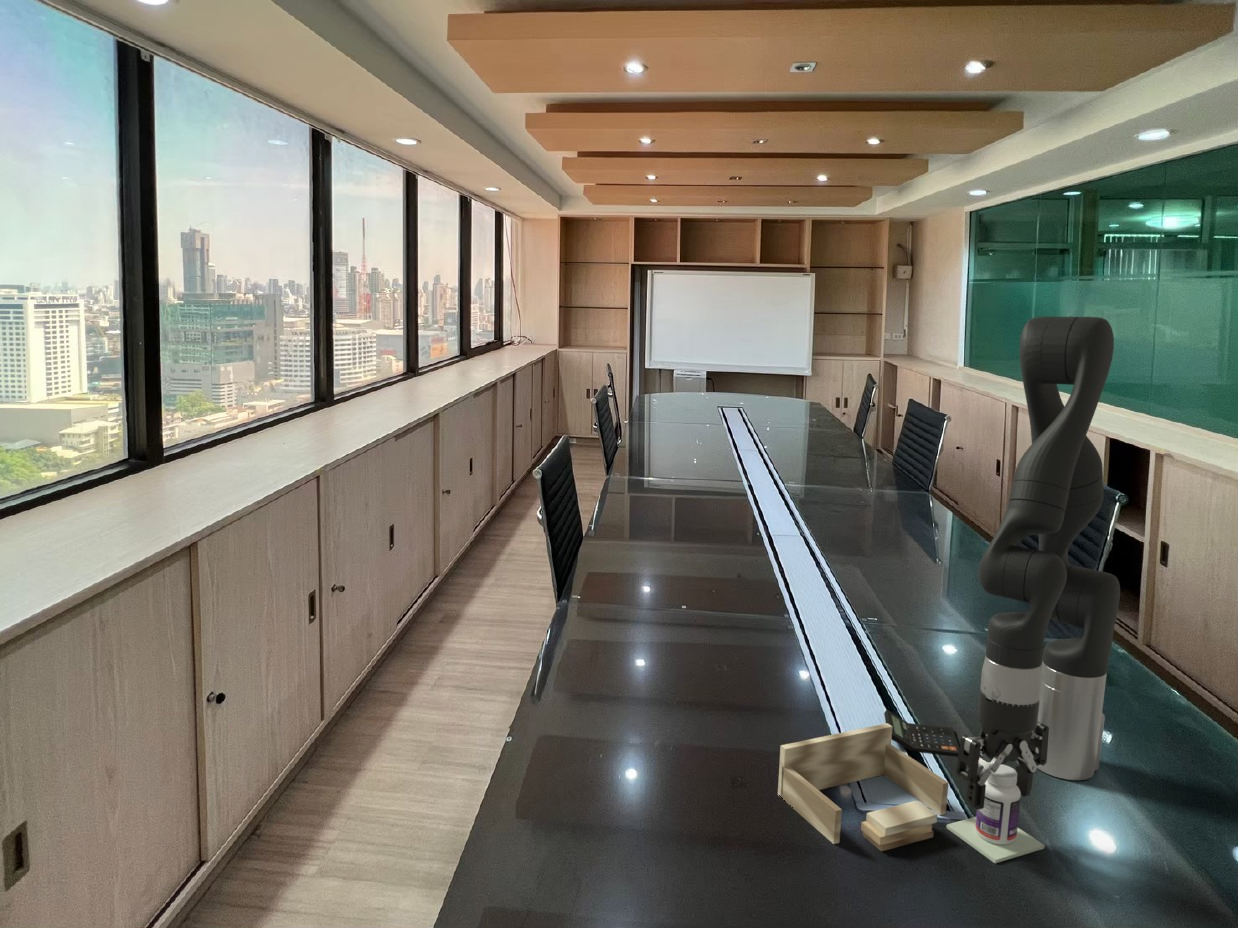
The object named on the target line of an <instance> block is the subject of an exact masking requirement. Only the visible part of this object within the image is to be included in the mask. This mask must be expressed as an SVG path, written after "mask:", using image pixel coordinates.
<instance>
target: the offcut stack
mask: <svg viewBox="0 0 1238 928" xmlns="http://www.w3.org/2000/svg"><path fill="white" fill-rule="evenodd" d="M937 822H938V813H936V812H935V811H933V810H932V809H931V808H929V807H928V806H926V805H925V804H924V803H922V802H921V801H919V800H918V799H917V800H912V801H909V802H905V803H902V804H901V803H900V804H897V805H893V806H889V807H886V808H885V807H884V808H882V809H881V808H880V809H877V810H873V811H869V812H867V813H866V818H865V820H864V821H861V822H860V823H861V824H860V825H861V826H860V831H862V836H863V837H864V838H865V839H866V840H867V841H869V842H870V843H871V844H872V845H873V846H874V847H876V848H877V849H878V850H879V851H880V852H883V851H888V850H891V849H896V848H899V847H903V846H907V845H911V844H914V843H917V842H921V841H925V840H929V839H931V838H934V833H935V831H934V830H933V824H936V823H937Z"/></svg>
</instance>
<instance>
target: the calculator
mask: <svg viewBox="0 0 1238 928" xmlns="http://www.w3.org/2000/svg"><path fill="white" fill-rule="evenodd" d="M883 715H884V720H885V721H884V722H885V724H886V723H888V724H889V725H891V726H892V738H891V741H892V742H893V741H894V742H895V743H897V744H898V745H900V746H901V747H903V748H905V749H907V750H908V751H910V752H916V753H917V752H918V753H926V754H934V755H945V756H954V757H958V756H959V749H960V745H959V743H958V740H957V737H956V734H955V732H954V728H953V727H948V726H938V725H928V724H918V723H910V722H907V721H906V720H904V719H903V718H901V717H900V716H898V715H896V714H894V713H893V712H892V711H890V710H889V709H886V710H885V711H884V713H883Z"/></svg>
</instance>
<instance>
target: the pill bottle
mask: <svg viewBox="0 0 1238 928" xmlns="http://www.w3.org/2000/svg"><path fill="white" fill-rule="evenodd" d="M1016 783H1017V772H1016V769H1014V768H1013V767H1011V766H1009V765H1006V764H1001V765H1000V766H999V768H998V769H997V771H996V772H995V773H991V774H990V776H989V777H988V779H987V781H986V782H985V785H986V790H985V800H984V808H983V809H979V810H978V809H976V816H975V817H976V826H975V829H976V832H977V834H978V835H979V836H980V837H981V838H983V839H984V840H986V841H988V842H990V843H994V844H1000V845H1006V844H1011V843H1013V842H1014V841H1015V840H1016V836H1017V828H1019V819H1020V818H1019V817H1020V807H1021V797H1022V795H1021V792H1020V789H1019V788H1018V786H1017V785H1016Z"/></svg>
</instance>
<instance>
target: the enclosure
mask: <svg viewBox="0 0 1238 928" xmlns="http://www.w3.org/2000/svg"><path fill="white" fill-rule="evenodd" d="M891 738H892V726H891V725H889V724H888V723H886V722H885V723H881V724H877V725H872V726H867V727H863V728H858V729H853V730H848V731H845V732H838V733H834V734H829V735H824V736H820V737H819V736H818V737H814V738H810V739H806V740H805V739H804V740H800V741H796V742H791V743H785V744H781V745H780V747H779V748H780V751H779V767H778V768H779V769H778V782H777V783H778V785H777V796H779V795H780V796H781V797H782V798H783V799H782V798H781V797H780V796H779V797H780V798H781V799H782V800H783V801H784V800H785V801H786V802H785V801H784V802H785V803H786V804H787V805H789V806H790V805H791V806H790V807H791V808H792V807H793V808H792V809H793V810H794V811H796V813H798V814H799V815H800V816H801V817H802V818H803V819H805V821H807V822H808V823H809V824H810V825H811V826H812V827H814V828H815V829H816V830H817V831H818V832H819V833H820V834H822V835H823V836H824V837H825V838H826V839H827V840H828V841H829V842H831V844H833V845H834V844H835V845H836V844H839V843H840V842H841V840H840V839H841V829H842V828H841V825H842V814H843V813H842V811H843V810H842V808H840V807H839V806H838V805H837V804H836V803H835V802H833V801H832V800H831V799H830V798H829V797H828V796H826V795H825V794H823V793H822V792H821V790H824V789H828V788H829V787H830V788H833V787H837V786H842V785H847V784H850V783H855V782H858V781H862V780H863V781H864V780H866V779H867V780H868V779H871V778H875V777H879V776H885V777H886V778H888V779H889V780H891V781H892V782H893V783H895V784H896V785H897V786H899V787H900V788H901V789H903V790H904V791H906V792H907V793H909V794H910V795H911V796H912V797H914V799H915V798H916V799H917V800H918V801H919V802H921V803H922V804H923V805H925V806H926V807H928V808H929V809H930V810H932V811H933V812H934V813H936V814H937V815H939V816H944V815H946V814H947V803H948V793H949V792H948V791H949V784H950V783H949V781H947V780H946V779H944V778H942V777H941V776H940V775H938V774H937V773H935V772H933V771H932V770H931V769H929V768H927V767H926V766H924V765H923V764H922V763H920V762H918V761H917V760H915V759H914V758H912V756H910V755H908V754H906V753H905V752H903V751H902V750H901V749H899V748H898V747H896V746H894V745H893V744H892V739H891Z"/></svg>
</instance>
